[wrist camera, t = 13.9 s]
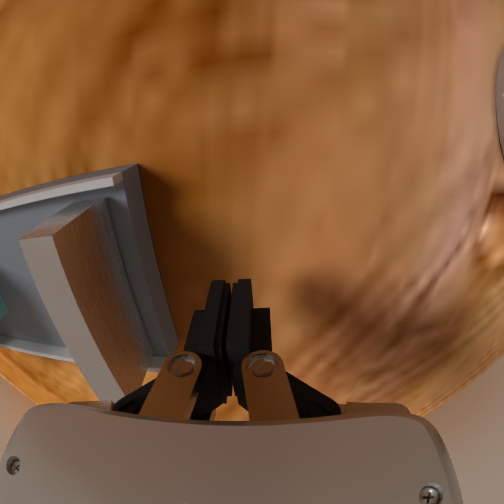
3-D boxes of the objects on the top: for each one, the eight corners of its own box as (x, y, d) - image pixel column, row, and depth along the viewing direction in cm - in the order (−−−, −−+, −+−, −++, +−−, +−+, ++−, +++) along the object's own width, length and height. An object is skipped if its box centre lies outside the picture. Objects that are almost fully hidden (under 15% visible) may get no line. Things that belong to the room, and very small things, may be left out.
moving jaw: (105, 196, 12) (51, 235, 8) (153, 352, 17) (133, 409, 13) (73, 201, 13) (18, 239, 9) (125, 350, 17) (102, 404, 13)
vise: (137, 163, 14) (59, 208, 8) (178, 340, 19) (155, 425, 13) (-52, 215, 15) (-101, 249, 9) (-9, 322, 20) (-42, 365, 14)
